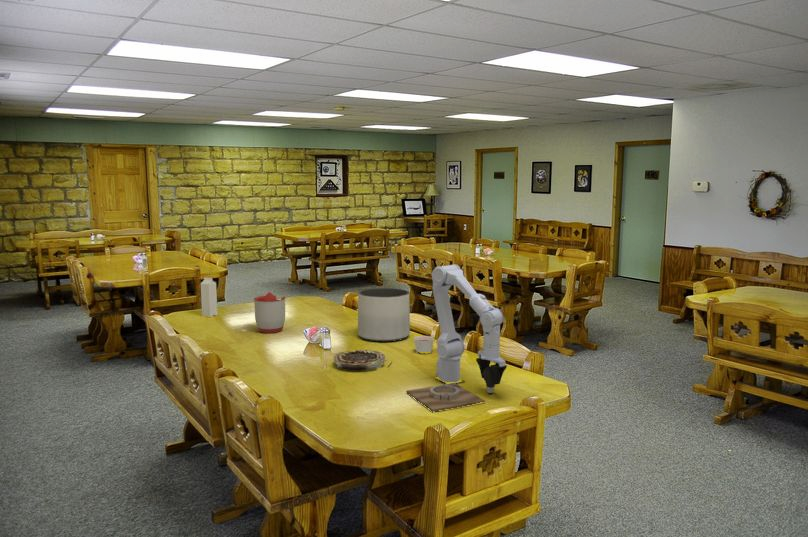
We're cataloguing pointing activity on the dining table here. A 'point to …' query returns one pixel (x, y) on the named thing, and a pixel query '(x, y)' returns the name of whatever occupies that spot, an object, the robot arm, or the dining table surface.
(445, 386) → the socket ring
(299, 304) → the dining table surface
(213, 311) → the milk
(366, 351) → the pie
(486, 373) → the light bulb
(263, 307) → the citrus juicer
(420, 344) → the candle
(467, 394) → the socket board
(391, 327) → the planter
